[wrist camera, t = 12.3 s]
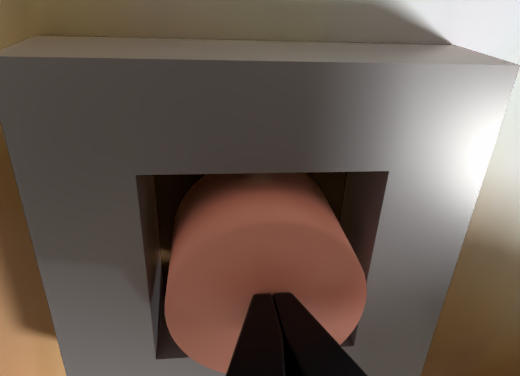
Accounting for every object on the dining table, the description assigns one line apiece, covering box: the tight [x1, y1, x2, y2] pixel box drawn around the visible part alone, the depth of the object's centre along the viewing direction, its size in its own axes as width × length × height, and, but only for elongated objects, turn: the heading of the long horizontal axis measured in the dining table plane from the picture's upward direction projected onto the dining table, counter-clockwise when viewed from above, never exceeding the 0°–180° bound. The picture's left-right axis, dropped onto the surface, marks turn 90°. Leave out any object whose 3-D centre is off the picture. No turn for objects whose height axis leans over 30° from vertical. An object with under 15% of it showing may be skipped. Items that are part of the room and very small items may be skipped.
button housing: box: [0, 35, 520, 376], centre depth 11 cm, size 10×10×2 cm
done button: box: [165, 172, 367, 374], centre depth 10 cm, size 4×4×3 cm
